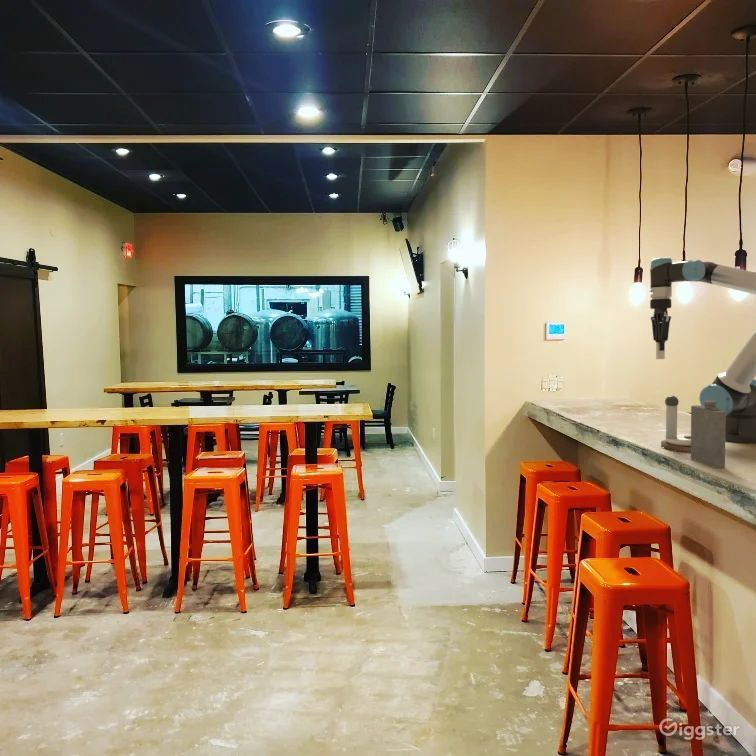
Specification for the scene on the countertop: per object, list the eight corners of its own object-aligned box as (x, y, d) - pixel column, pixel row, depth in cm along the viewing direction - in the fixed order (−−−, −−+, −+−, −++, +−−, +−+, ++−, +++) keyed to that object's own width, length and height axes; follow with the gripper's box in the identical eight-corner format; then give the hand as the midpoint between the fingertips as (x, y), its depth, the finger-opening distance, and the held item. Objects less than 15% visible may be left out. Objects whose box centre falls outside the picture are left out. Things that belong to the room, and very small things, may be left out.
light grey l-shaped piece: (701, 437, 231) (701, 392, 229) (720, 445, 215) (721, 397, 214) (657, 438, 232) (657, 393, 230) (673, 446, 217) (673, 398, 215)
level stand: (701, 441, 233) (701, 427, 232) (727, 451, 215) (727, 436, 214) (652, 443, 233) (652, 429, 232) (674, 453, 215) (674, 438, 215)
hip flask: (688, 457, 208) (689, 398, 206) (700, 457, 208) (701, 397, 206) (717, 468, 192) (718, 404, 190) (729, 468, 192) (731, 403, 190)
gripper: (644, 299, 250) (644, 358, 252) (658, 298, 237) (657, 360, 239) (663, 298, 249) (662, 357, 251) (678, 297, 236) (677, 359, 238)
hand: (660, 358), depth 245 cm, fingers closed
